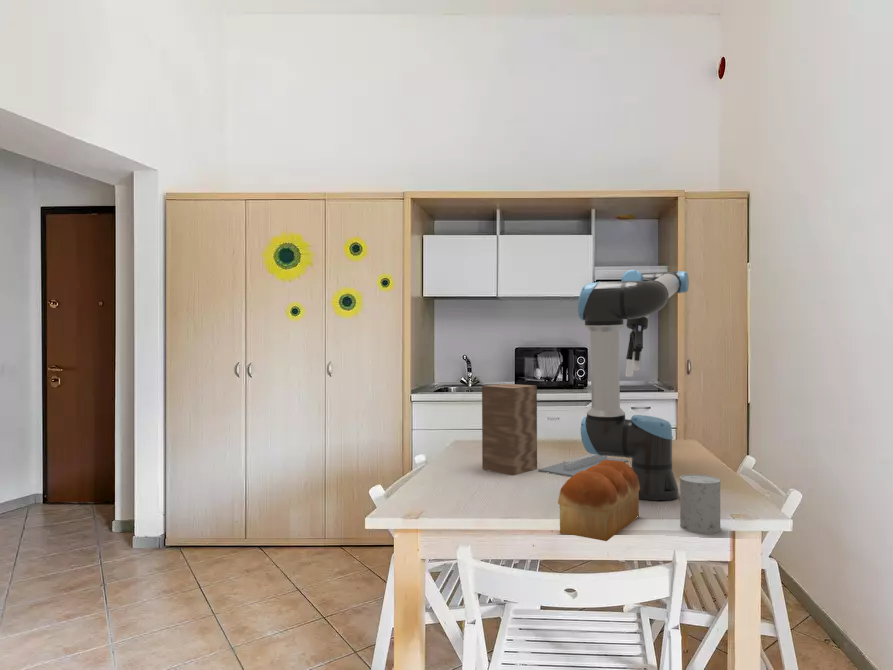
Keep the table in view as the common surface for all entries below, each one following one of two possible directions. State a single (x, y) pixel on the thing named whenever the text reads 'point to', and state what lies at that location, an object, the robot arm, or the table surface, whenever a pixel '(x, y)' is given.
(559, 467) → the rubber mat
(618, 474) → the bread
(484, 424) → the walnut pedestal
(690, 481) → the concrete cylinder
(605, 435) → the robot arm
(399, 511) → the table surface
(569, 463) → the steel bar
